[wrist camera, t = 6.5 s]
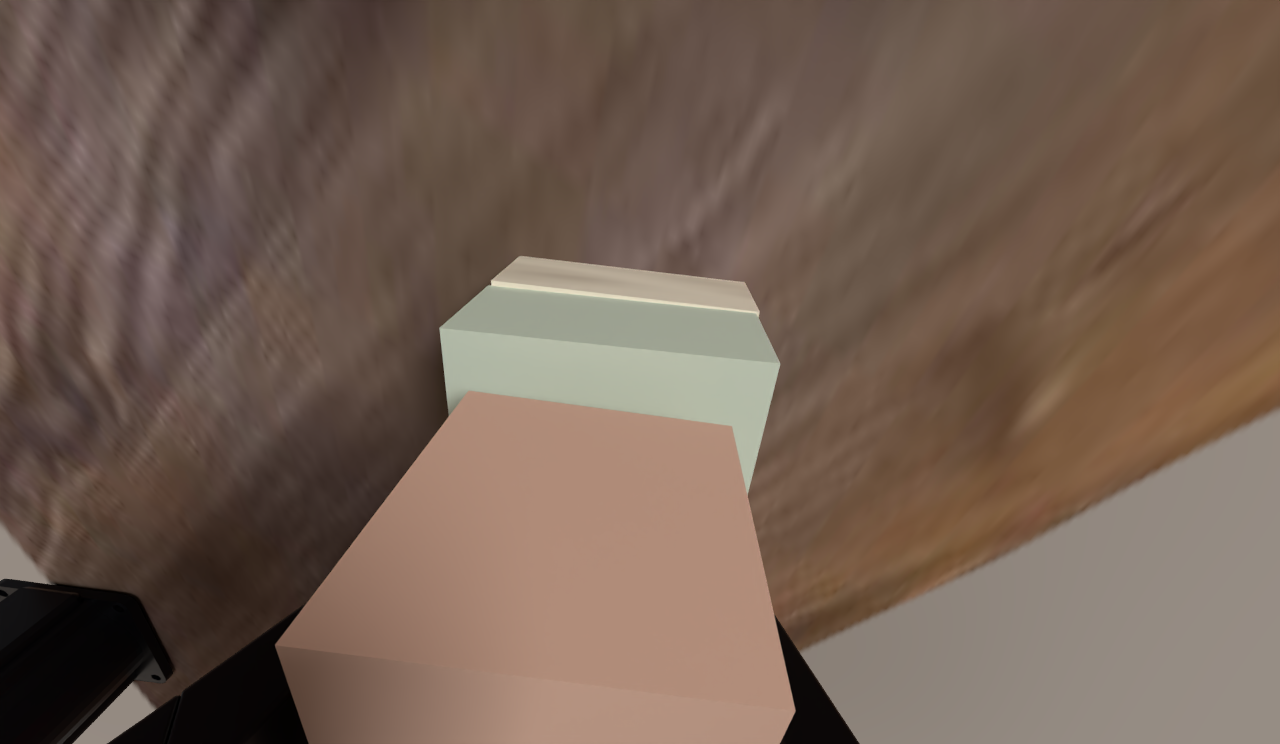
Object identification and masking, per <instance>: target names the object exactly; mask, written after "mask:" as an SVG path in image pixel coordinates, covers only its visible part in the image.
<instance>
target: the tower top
mask: <svg viewBox="0 0 1280 744" xmlns="http://www.w3.org/2000/svg"><path fill="white" fill-rule="evenodd" d="M440 338H441V347H442V357H443V366H444V375H445V385H446V394H447V404H448V413H449V416H450V414H451V413H452V412H453V410H454V409H455V408H456V406H457V405H458V404H459V402H460V401H461V400H462V399H463V397H464V396H465V395H466V393H467V392H468V391H475V392H483V393H490V394H498V395H505V396H513V397H520V398H527V399H535V400H542V401H550V402H557V403H564V404H572V405H579V406H587V407H594V408H602V409H609V410H616V411H624V412H631V413H639V414H646V415H654V416H661V417H668V418H676V419H683V420H691V421H698V422H705V423H713V424H720V425H728V426H732V429H733V433H734V438H735V442H736V447H737V451H738V456H739V460H740V465H741V469H742V474H743V478H744V483H745V487H746V491H747V495H748V491H749V487H750V483H751V479H752V475H753V471H754V467H755V463H756V459H757V455H758V451H759V447H760V443H761V439H762V435H763V431H764V427H765V423H766V419H767V415H768V411H769V407H770V403H771V399H772V395H773V391H774V387H775V383H776V379H777V375H778V371H779V367H780V362H779V360H778V358H777V356H776V354H775V352H774V350H773V347H772V345H771V343H770V341H769V339H768V337H767V335H766V333H765V331H764V329H763V327H762V325H761V322H760V320H759V318H758V316H757V314H756V313H748V312H739V311H729V310H720V309H710V308H700V307H691V306H681V305H672V304H662V303H652V302H643V301H633V300H624V299H614V298H604V297H595V296H585V295H576V294H566V293H556V292H547V291H537V290H528V289H518V288H509V287H499V286H489V285H488V286H487V287H486V288H485V289H484V290H482V291H481V292H480V293H479V294H478V295H477V296H476V297H474V298H473V299H472V300H471V301H470V302H469V303H467V304H466V305H465V306H464V307H463V308H462V309H461V310H459V311H458V312H457V313H456V314H455V315H454V316H453V317H451V318H450V319H449V320H448V321H447V322H446V323H445V324H443V325H442V326H441V327H440Z"/></svg>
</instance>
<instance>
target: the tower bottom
mask: <svg viewBox="0 0 1280 744" xmlns="http://www.w3.org/2000/svg"><path fill="white" fill-rule="evenodd" d="M491 286H499V287H509V288H518V289H528V290H537V291H547V292H556V293H566V294H576V295H585V296H595V297H604V298H614V299H624V300H633V301H643V302H652V303H662V304H672V305H681V306H691V307H700V308H710V309H720V310H729V311H739V312H748V313H756V314H757V316H758V317H759V310H758V308H757V306H756V304H755V302H754V300H753V298H752V296H751V294H750V292H749V290H748V288H747V286H746V284H745V282H738V281H729V280H721V279H712V278H704V277H695V276H687V275H678V274H670V273H661V272H653V271H644V270H636V269H627V268H619V267H610V266H602V265H593V264H585V263H576V262H568V261H559V260H551V259H542V258H534V257H526V256H519V257H518V258H517V259H516V260H514V261H513V262H512V263H511V264H510V265H509V266H507V267H506V268H505V269H504V270H503V271H502V272H500V273H499V274H498V275H497V276H496V277H495V278H493V279H492V280H491Z"/></svg>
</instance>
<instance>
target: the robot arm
mask: <svg viewBox="0 0 1280 744" xmlns="http://www.w3.org/2000/svg"><path fill="white" fill-rule="evenodd" d="M306 604H307V603H305V604H304V605H303V606H301V607H300V608H298V609H297V610H296V611H294V612H293V613H291V614H290V615H289V616H287V617H286V618H284V619H283V620H282V621H280V622H279V623H277V624H276V625H275V626H273V627H272V628H270V629H269V630H268V631H266V632H265V633H263V634H262V635H261V636H259V637H258V638H256V639H255V640H254V641H252V642H251V643H249V644H248V645H246V646H245V647H244V648H242V649H241V650H239V651H238V652H237V653H235V654H234V655H232V656H231V657H230V658H228V659H227V660H225V661H224V662H223V663H221V664H220V665H218V666H217V667H216V668H214V669H213V670H211V671H210V672H209V673H207V674H206V675H204V676H203V677H202V678H200V679H199V680H197V681H196V682H195V683H193V684H192V685H190V686H189V687H188V688H186V689H185V690H184V691H183V692H182V694H181V696H175V697H173V698H172V699H170V700H169V701H168V702H166V703H165V704H163V705H162V706H161V707H159V708H158V709H156V710H155V711H154V712H152V713H151V714H149V715H148V716H147V717H145V718H144V719H142V720H141V721H139V722H138V723H136V724H135V725H134V726H132V727H131V728H129V729H128V730H126V731H125V732H123V733H122V734H121V735H119V736H118V737H116V738H115V739H113V740H112V741H110V742H109V743H108V744H309V743H308V740H307V737H306V735H305V732H304V729H303V726H302V723H301V720H300V717H299V714H298V711H297V708H296V705H295V702H294V700H293V697H292V694H291V691H290V688H289V685H288V682H287V679H286V676H285V673H284V670H283V667H282V665H281V662H280V659H279V656H278V653H277V650H276V647H275V644H276V643H277V642H278V640H279V639H280V638H281V636H282V635H283V634H284V632H285V631H286V630H287V629H288V627H289V626H290V625H291V623H292V622H293V621H294V619H295V618H296V617H297V615H298V614H299V613H300V611H301V610H302V609H303V607H304V606H305V605H306ZM774 617H775V621H776V626H777V630H778V635H779V639H780V643H781V648H782V652H783V657H784V661H785V666H786V670H787V675H788V679H789V684H790V688H791V693H792V697H793V702H794V706H795V713H794V715H793V718H792V720H791V722H790V724H789V726H788V728H787V730H786V732H785V734H784V736H783V738H782V740H781V742H780V744H859V742H858V741H857V739H856V738H855V736H854V735H853V733H852V732H851V730H850V729H849V727H848V725H847V724H846V722H845V721H844V719H843V718H842V717H841V715H840V713H839V712H838V711H837V709H836V707H835V706H834V704H833V703H832V701H831V700H830V698H829V697H828V695H827V694H826V692H825V691H824V689H823V688H822V686H821V685H820V683H819V682H818V680H817V678H816V677H815V676H814V674H813V672H812V671H811V669H810V668H809V666H808V665H807V663H806V662H805V660H804V659H803V657H802V656H801V654H800V653H799V651H798V650H797V648H796V646H795V645H794V643H793V642H792V640H791V639H790V637H789V636H788V634H787V633H786V631H785V630H784V628H783V627H782V625H781V624H780V622H779V621H778V619H777V618H776V616H775V615H774ZM172 674H173V671H172V669H171V667H170V665H169V663H168V661H167V659H166V657H165V656H164V654H163V652H162V650H161V648H160V646H159V644H158V642H157V640H156V638H155V636H154V634H153V632H152V630H151V628H150V626H149V624H148V623H147V621H146V619H145V617H144V615H143V613H142V611H141V609H140V607H139V605H138V603H137V602H136V600H134V599H133V598H132V597H130V596H128V595H124V594H116V593H109V592H101V591H94V590H87V589H79V588H72V587H64V586H57V585H49V584H42V583H34V582H27V581H20V580H12V579H3V580H1V581H0V744H72V743H73V742H74V741H75V740H76V739H77V738H78V737H79V736H80V735H81V734H82V733H83V732H84V731H85V730H86V729H87V728H88V727H89V726H90V725H91V724H92V723H93V722H94V721H95V720H96V719H97V718H98V717H99V716H100V715H101V714H102V713H103V711H105V709H107V707H108V706H109V705H110V704H111V703H112V702H113V701H114V700H115V699H116V698H117V697H118V696H119V695H120V694H121V693H122V692H123V691H124V690H125V689H126V688H127V687H128V686H129V685H130V684H131V683H132V682H133V681H134V680H139V681H147V682H155V683H165V682H166V681H167V680H168V678H169V677H170V676H171V675H172Z"/></svg>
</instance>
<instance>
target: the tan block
mask: <svg viewBox="0 0 1280 744" xmlns="http://www.w3.org/2000/svg"><path fill="white" fill-rule="evenodd" d="M275 647H276V650H277V653H278V656H279V659H280V662H281V665H282V667H283V670H284V673H285V676H286V679H287V682H288V685H289V688H290V691H291V694H292V697H293V700H294V702H295V705H296V708H297V711H298V714H299V717H300V720H301V723H302V726H303V729H304V732H305V735H306V737H307V740H308V743H309V744H780V742H781V740H782V738H783V736H784V734H785V732H786V730H787V728H788V726H789V724H790V722H791V720H792V718H793V715H794V713H795V706H794V702H793V697H792V693H791V688H790V684H789V679H788V675H787V670H786V666H785V661H784V657H783V652H782V648H781V643H780V639H779V635H778V630H777V626H776V621H775V617H774V612H773V608H772V603H771V599H770V594H769V590H768V585H767V581H766V576H765V572H764V567H763V563H762V559H761V554H760V550H759V545H758V541H757V536H756V532H755V527H754V523H753V518H752V514H751V509H750V505H749V500H748V496H747V491H746V487H745V483H744V478H743V474H742V469H741V465H740V460H739V456H738V451H737V447H736V442H735V438H734V433H733V429H732V426H728V425H720V424H713V423H705V422H698V421H691V420H683V419H676V418H668V417H661V416H654V415H646V414H639V413H631V412H624V411H616V410H609V409H602V408H594V407H587V406H579V405H572V404H564V403H557V402H550V401H542V400H535V399H527V398H520V397H513V396H505V395H498V394H490V393H483V392H475V391H468V392H467V393H466V395H465V396H464V397H463V399H462V400H461V401H460V402H459V404H458V405H457V406H456V408H455V409H454V410H453V412H452V413H451V414H450V416H449V417H448V418H447V420H446V421H445V422H444V424H443V425H442V426H441V427H440V429H439V430H438V431H437V433H436V434H435V435H434V437H433V438H432V439H431V441H430V442H429V443H428V445H427V446H426V447H425V448H424V450H423V451H422V452H421V454H420V455H419V456H418V458H417V459H416V460H415V462H414V463H413V464H412V466H411V467H410V468H409V469H408V471H407V472H406V473H405V475H404V476H403V477H402V479H401V480H400V481H399V483H398V484H397V485H396V487H395V488H394V489H393V491H392V492H391V493H390V494H389V496H388V497H387V498H386V500H385V501H384V502H383V504H382V505H381V506H380V508H379V509H378V510H377V512H376V513H375V514H374V515H373V517H372V518H371V519H370V521H369V522H368V523H367V525H366V526H365V527H364V529H363V530H362V531H361V533H360V534H359V535H358V537H357V538H356V539H355V540H354V542H353V543H352V544H351V546H350V547H349V548H348V550H347V551H346V552H345V554H344V555H343V556H342V558H341V559H340V560H339V561H338V563H337V564H336V565H335V567H334V568H333V569H332V571H331V572H330V573H329V575H328V576H327V577H326V579H325V580H324V581H323V583H322V584H321V585H320V586H319V588H318V589H317V590H316V592H315V593H314V594H313V596H312V597H311V598H310V600H309V601H308V602H307V604H306V605H305V606H304V607H303V609H302V610H301V611H300V613H299V614H298V615H297V617H296V618H295V619H294V621H293V622H292V623H291V625H290V626H289V627H288V629H287V630H286V631H285V632H284V634H283V635H282V636H281V638H280V639H279V640H278V642H277V643H276V644H275Z"/></svg>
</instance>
